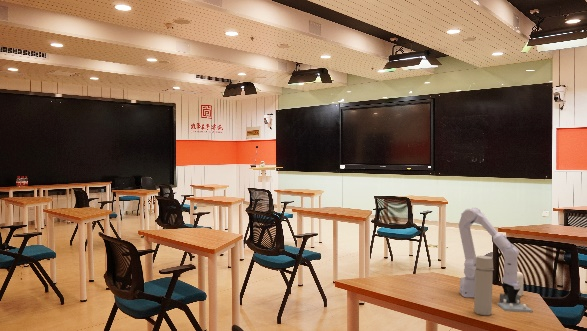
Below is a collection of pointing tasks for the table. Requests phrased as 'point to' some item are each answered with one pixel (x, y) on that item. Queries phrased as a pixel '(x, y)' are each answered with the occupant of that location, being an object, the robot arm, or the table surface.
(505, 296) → the block
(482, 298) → the water bottle
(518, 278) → the photo printer
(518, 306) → the grey mounting plate
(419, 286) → the table surface
